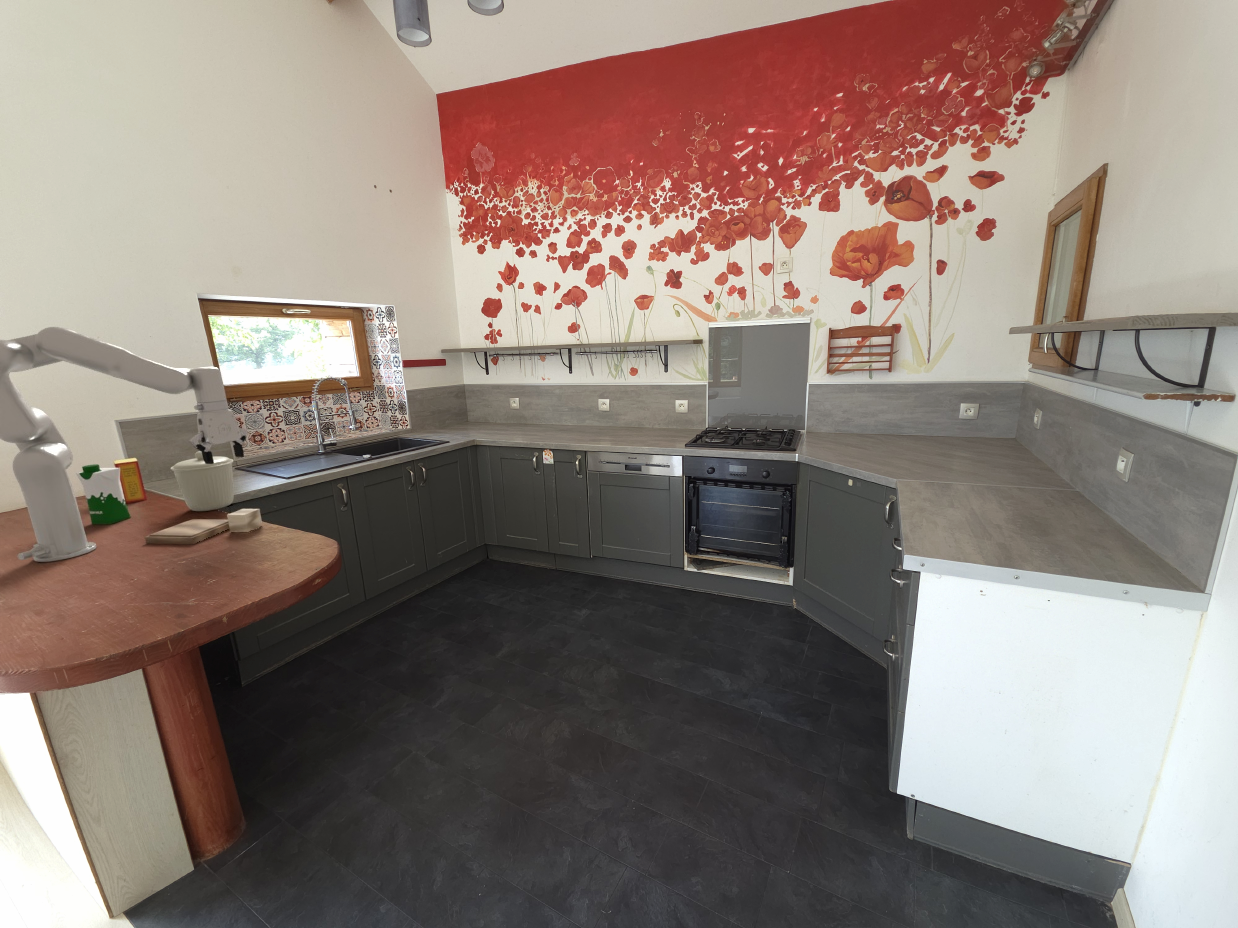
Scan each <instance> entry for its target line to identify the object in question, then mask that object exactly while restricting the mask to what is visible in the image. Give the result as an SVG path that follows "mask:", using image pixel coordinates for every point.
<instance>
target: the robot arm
mask: <svg viewBox="0 0 1238 928" xmlns="http://www.w3.org/2000/svg"><path fill="white" fill-rule="evenodd" d="M60 362H65V363H69V364H72V365H76V366H79V367H82V368H85V369H89V370H92V371H95V372H97V373H102V374H104V375H108V376H110V377H113V378H115V379H120V380H123V381H127V382H130V383H133V384H137V385H138V386H143V387H146V388H149V389H152V390H156V391H158V392H162V393H165V394H170V395H180V394H183V393H187V392H191V391H194V395H195V400H196V405H193V409H194V410H195V411H198V412H197V414H196V416H197V418H196V421H197V434H195V435H194V436H193V437H191V438H190V439H189V443H191V444H192V446H193V447H194V448H195V449H196V450H198V451H200V452H202V456H203V460H204V462H205V464H213V463H214V460H213V457H214V456H213V452H212V451H211V448H212V446H213V445H221V444H224V443H230V442H232V443H233V446H232V448H233V452H234V456H235V457H236V458H244V457H245V455H244V454H245V453H244V448H243V447H244V446H243V445H244V444H245V441H246V438H247V434H248V430H247V429H246V428H243V427H239V423H238V421H237V417H236V416H235V414H234V411H233V410H232V409H229V405H228V404H229V403H228V401H227V395H226V390H225V386H224V381H223V375H222V373H221V370H220V369H219V368H218V367H215V366H203V367H195V368H179V367H178V368H177V367H176V368H175V367H170V366H167V365H164V364H161V363H159V362H155V361H152V360H149V359H147V358H144V357H141V356H139V355H136V354H134V353H132V352H130V351H129V350H127V349H125V348H123V347H120V346H118V345H117V346H116V345H114V344H111V343H108V342H106V341H105V342H104V341H103V340H99V339H95V338H94V337H93V338H92V337H90V336H87V335H84V334H82V333H78V332H76V331H74V330H72V329H69V328H65V327H59V326H48V327H45V328H43V329H41V330H39V331H38V333H36V334H31V335H27V336H22V337H18V338H12V339H0V440H1V441H4V442H6V443H10V444H15V446H16V447H17V449H18V450H19V452H18V453H17V454H16V455H15V456H14V459H13V460H12V470H13V471H12V472H13V473H14V477H15V479H16V480H17V483H18V485H19V487H20V489H21V492H22V495H23V498H24V501H25V502H24V503H25V505H26V507H27V511H28V515H29V518H30V520H31V521H30V522H31V525H32V528H33V531H34V535H35V538H36V539H35V540H36V542H37V543H35V544H33V547H32V548H31V549H30V550H26V551H24V552H21V553H20V552H19V553H18V554H17V558H18V560H20V561H24V560H27V559H30V558H33V561H35V562H40V563H47V562H56V561H61V560H66V559H70V558H75V557H79V556H81V555H85V554H87V553H90V552H92V551H94V550H95V549H96V548H97V544H96V542H93V541H92V542H91V541H88V539H87V536H86V535H87V534H86V532H85V528H84V524H83V520H82V517H81V513H80V509H79V506H78V501H77V498H76V496H75V491H74V489H73V485H72V483H71V480H70V478H69V475H68V473H67V469H69V468H70V467H71V465H72V463H73V460H74V455H73V452H72V450H71V448H70V447H69V445H68V443H67V442H66V441H65V438H64V437H63V436H62V434H61V433H60V430H59V429H58V427H57V426H56V425H55V423H54V421H53V420H52V418H51V417H50V416H49V415H48V414H47V413H46V412H44V411H43V410H41V409H40V408H37V407H33V406H29V404H28V403H27V402H26V400H25V398H24V397H23V395H22V393H21V392H20V390H19V389H18V388H17V386H16V385H15V384H14V382H12V380H11V378H10V373H19V372H23V371H29V370H32V369H33V370H34V369H36V368H40V367H44V366H50V365H52V364H53V365H54V364H56V363H60ZM199 441H200V443H201V444H200V443H199Z"/></svg>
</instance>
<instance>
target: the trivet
mask: <svg viewBox="0 0 1238 928" xmlns="http://www.w3.org/2000/svg"><path fill="white" fill-rule="evenodd" d="M227 529H229V530H230V527H229V522H228V519H209V518H208V519H203V518H200V519H198V518H192V519H189V520H187V521H183V522H181V523H178V524H175V525H173V526H170V527H168V528H164V529H162V530H159V531H155V532H153V533H151V534H149V535H146V536H144V540H145V544H159V545H160V544H164V545H167V544H169V545H170V544H171V545H195V544H197V542H198V543H200V542H202V541H205V540H207V539H209V538H208V537H210V538H212V537H214V536H213V535H215V536H216V534H217V533H219V534H222V533H223V532H222V531H224V532H226V531H225V530H227ZM227 531H228V530H227ZM221 532H222V533H221ZM217 535H218V534H217ZM211 536H212V537H211ZM206 538H207V539H206ZM204 539H205V540H204ZM199 541H200V542H199Z"/></svg>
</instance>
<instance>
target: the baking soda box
mask: <svg viewBox="0 0 1238 928" xmlns="http://www.w3.org/2000/svg"><path fill="white" fill-rule="evenodd" d="M138 461H139V460H138V459H137V458H136V457H132V458H125V459H124V458H123V459H117V460H116V459H115V460H113V461H112V462H113V466H114V468H120V482H121V486H122V490H123V494H124V498H125V502H126V504H130V503H136V502H142V501H147V500H148V497H147V494H146V489H145V486H144V482H143V478H142V474H141V469H140V465H139V462H138Z"/></svg>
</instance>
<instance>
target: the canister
mask: <svg viewBox="0 0 1238 928" xmlns="http://www.w3.org/2000/svg"><path fill="white" fill-rule="evenodd" d="M194 457H195V458H190V459H187V460H182V461H179V462H177V463H175V464H174V465H173V466H171V467H170V470H171V471H172V472H173V473H174V477H175V479H176V482H177V484H178V488H179V490H180V492H181V494H182V497H183V499H184V502H185V504H186V506H187V508H188V509H190V511H193V512H194V511H195V512H207V511H208V512H209V511H215V510H218V509H222V508H226V507H228V506H230V505H231V504H232V503H233V501H234V499H235V497H234V496H235V495H234V494H235V492H234V491H235V490H234V475H233V463H234V461H235V460H234V459H232V458H229V457H227V456H220V455H219V456H216V455H215V456H213V460H214V463H213V464H205V462H204V460H203V456H202V452H200V451H199V450H198V451H196V452H195V453H194Z"/></svg>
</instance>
